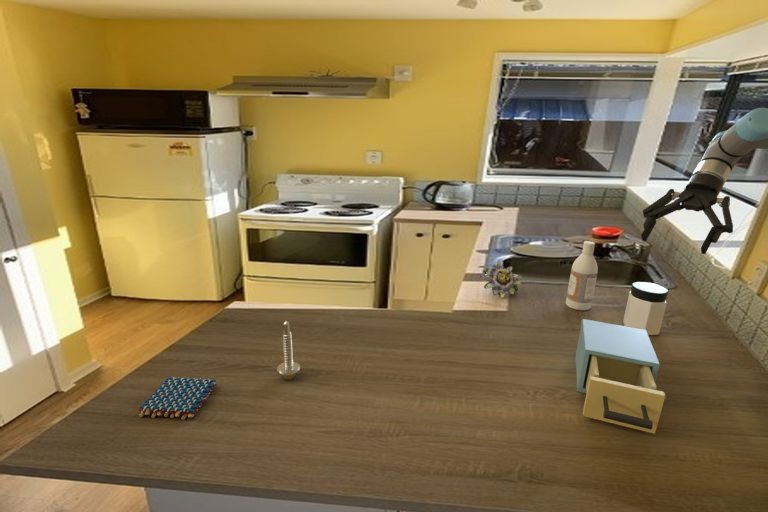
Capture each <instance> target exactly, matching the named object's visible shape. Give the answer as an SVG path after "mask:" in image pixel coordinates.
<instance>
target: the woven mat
mask: <svg viewBox="0 0 768 512" xmlns="http://www.w3.org/2000/svg"><path fill="white" fill-rule="evenodd" d="M163 381H164V382H162V383H161V384H160V385H159V387H157V389H155V390H154V391H155V392H153V393H152V394H150V396H149V397H148V398H147V399H146V400H145V403H143V404H141V405H139V406H140V407H139V408H138V411H139V412H140V414H138V417H140V418H143V417H144V416H145V415H146V416H149V415H150V416H151V417H150V418H152V419H155V418H156V417H157V416H158V417H162V416H163V417H164V418H168V417H169V418H171V419H173V418H174V417H176V418H177V417H178V418H179V417H181V418H180V419H181V420H182V421H183V420H186V419H187V417H188V418H189V419H191V418H193V417H194V416H195V415H196V413H198V412H199V410H200V408H201V406H202V405H203V404H204V403H205V402H206V401H207V399H208V397H209V396H210V394H211V393H212V391H213V390H214V388H215V387H216V386H218V384H217V383H216V382H217V379H210V378H205V379H202V378H201V377H200V378H195V377H193V378H190V377H189V378H188V377H186V376H185V377H181V378H180V376H178V377H174V376H172V377H171V376H169V377H167V378H166V379H164V380H163ZM169 414H170V415H169Z"/></svg>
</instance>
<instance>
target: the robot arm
mask: <svg viewBox="0 0 768 512" xmlns="http://www.w3.org/2000/svg"><path fill="white" fill-rule="evenodd" d="M753 150H768V108H767V107H758V108H754V109H752V110H750V111H749V112H747V113H746V114H745V115H743V116H742V117H740V118H739V119H738V120H737V121H736V122H735V123H734V124H733V125H732V126H731V127H729V128H728V129H727V130H724V131H720V132H718V133H716V134H715V136H714V137H713V138H712V140H710V142H709V143H708V146H707V148H706V150H705V152H704V153H703V154H702V155H703V156H702V157H701V159H700V160H699V163H698V164H697V166H696V168H695V169H694V171H693V173H692V174H691V177H690V178H689V179H688V181H687V183H686V185H685V187H684V189H683V190H682V191H680V192H679V191H675V189H674V188H670V189H668V191H667V192H666V193H665V194H664V195H663V196H661V197H660V198H658V199H656V201H654V202H653V203H651V204H649V205H648V206H646V207H645V208H643V210H642V214H643V218H644V219H645V221H644V223H643V231H642V233H641V234H640V236H641V240H642V241H643V242H647V240H648V238H649V236H650V234H651V233H652V232H653V230H654V228H655V226H656V224H657V220H658V219H661V218H663V217H665V216H668V215H670V214H672V213H674V212H676V211H678V212H679V211H681V210H684V209H685V211H694V212H699V213H700V212H702V211H703V213H704V214H705V216H706V217H707V218H708V220H709V222H710V224H711V225H712V226H711V228H710V229H709V231H708V233H707V235H706V237H705V239H704V241H703V243H702V245H700V253H701V254H702V255H706V253H707V252H708V250H709V248H710V246H711V244H712V243H713V244H716V243H718V241H719V239H720V237H721V236H722V234H724V233H727V234H733V232H734V223H733V220H732V215H731V211H730V205H731V196H730V195H725V196H723V197H718V196H719V195H720V193H721V192H722V189H723V188H724V185H725V183H726V182H727V180H728V178H729V176H730V175H731V173H732V171H733V170H734V168H735V165H736V164H737V162H739V160H741V159H742V158H743V157H744V156H746V155H747V154H749V153H750V152H751V151H753ZM672 201H673V202H672ZM716 204H718V206H719V207H720V208H721V209H722V216H723V219H724V223H722V222H721V220H720V219H719V217H718V216H717V214H716V212H715V210H714V209H713V207H712V206H714V205H716Z"/></svg>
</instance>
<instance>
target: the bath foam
mask: <svg viewBox="0 0 768 512" xmlns="http://www.w3.org/2000/svg"><path fill="white" fill-rule="evenodd" d="M595 246H596V242H594V241H590V240H584V242H583V244H582V250H581V254H579V256H578V257H576V259H574V261H573V263H572V266H571V270H570V275H569V282H568V287H567V292H566V299H565V304H566V306H567V307H569V308H570V309H572V310H575V311H589V310H590V309H591V307H592V303H593V298H594V295H595V287H596V283H597V277H598V271H599V267H598V263H597V261H596V258H595V256H594V252H595Z"/></svg>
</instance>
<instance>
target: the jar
mask: <svg viewBox="0 0 768 512" xmlns="http://www.w3.org/2000/svg"><path fill="white" fill-rule="evenodd" d="M668 295H669V290H668V289H667V288H666V287H664V286H663V285H659V284H657V283H652V282H647V281H636V282H633V283H632V284H631V287H630V291H629V293H628V298H627V303H626V307H625V311H624V316H623V320H622V323H623V326H626V327H632V328H637V329H643V330H646V331H647V333H648V336H658V335H660V332H661V328H662V323H663V320H664V315H665V312H666V308H667V304H668V301H667V299H668Z"/></svg>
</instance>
